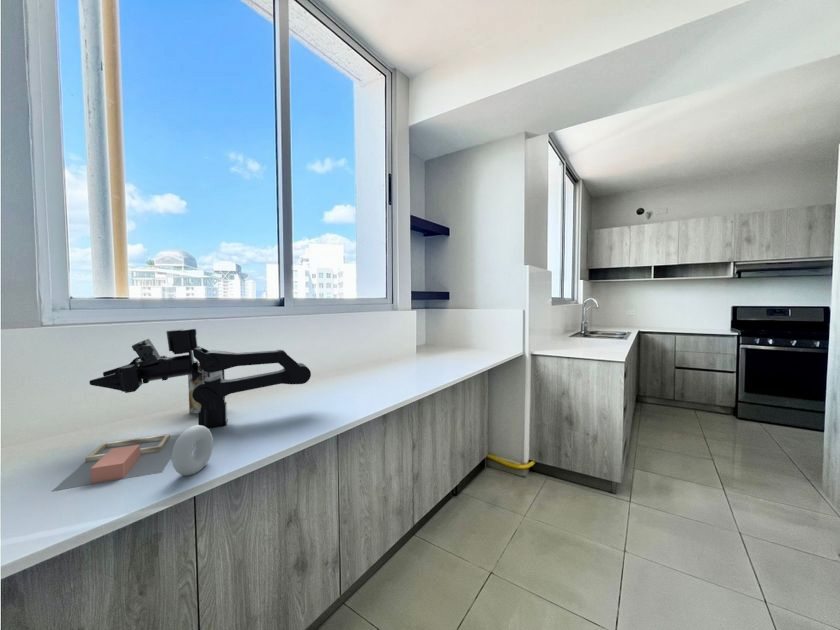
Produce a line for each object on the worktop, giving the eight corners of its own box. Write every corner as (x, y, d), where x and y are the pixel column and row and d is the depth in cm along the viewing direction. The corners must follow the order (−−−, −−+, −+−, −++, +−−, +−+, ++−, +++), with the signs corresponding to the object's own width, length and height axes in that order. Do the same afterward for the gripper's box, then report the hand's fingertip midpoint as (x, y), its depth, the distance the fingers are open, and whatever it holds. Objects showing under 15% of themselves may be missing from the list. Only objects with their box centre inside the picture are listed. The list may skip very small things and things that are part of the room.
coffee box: (226, 409, 114) (225, 362, 113) (211, 415, 108) (209, 365, 107) (204, 407, 116) (203, 361, 115) (187, 413, 110) (186, 364, 109)
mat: (186, 435, 91) (186, 433, 91) (162, 474, 70) (162, 472, 70) (105, 446, 84) (104, 444, 84) (51, 493, 63) (51, 491, 63)
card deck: (140, 457, 77) (140, 444, 77) (123, 477, 68) (123, 463, 68) (112, 461, 75) (111, 448, 75) (91, 483, 66) (90, 468, 66)
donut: (202, 461, 76) (201, 418, 76) (217, 461, 76) (216, 418, 75) (167, 485, 66) (166, 435, 66) (184, 485, 66) (183, 435, 65)
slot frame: (170, 437, 88) (170, 434, 88) (160, 450, 80) (160, 446, 80) (103, 447, 82) (102, 443, 82) (85, 462, 75) (85, 457, 75)
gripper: (172, 334, 100) (104, 342, 93) (160, 343, 84) (75, 353, 76) (178, 370, 101) (111, 381, 94) (166, 386, 85) (84, 400, 78)
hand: (96, 378), depth 86 cm, fingers open, 9 cm apart
